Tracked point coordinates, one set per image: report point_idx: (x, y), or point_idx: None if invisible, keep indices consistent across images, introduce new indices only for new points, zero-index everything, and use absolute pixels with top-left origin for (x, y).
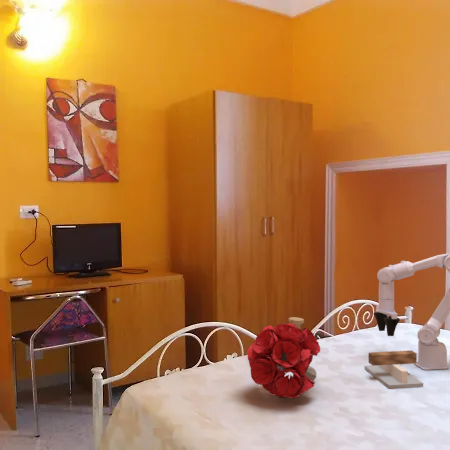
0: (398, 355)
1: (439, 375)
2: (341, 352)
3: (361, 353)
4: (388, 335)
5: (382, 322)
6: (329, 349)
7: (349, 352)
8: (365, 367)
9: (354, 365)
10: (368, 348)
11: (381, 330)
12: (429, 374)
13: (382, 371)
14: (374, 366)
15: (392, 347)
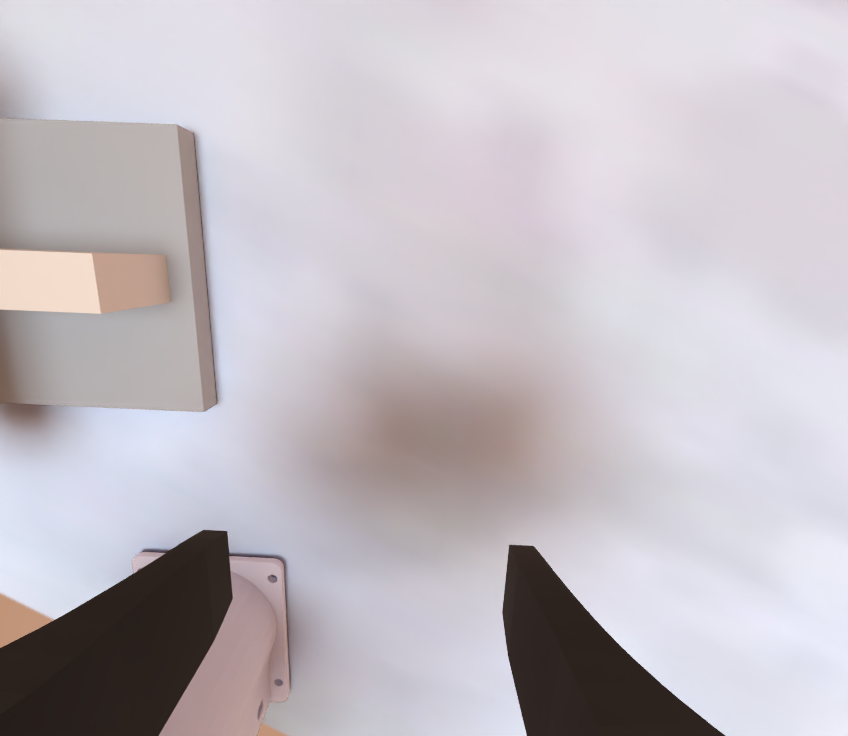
0: None
1: (46, 585)
2: (697, 123)
3: (607, 304)
4: (195, 536)
5: (548, 724)
6: (839, 30)
7: (670, 206)
8: (159, 126)
9: (298, 82)
10: (718, 425)
11: (509, 574)
12: (63, 541)
13: (21, 218)
14: (153, 211)
15: (673, 605)
